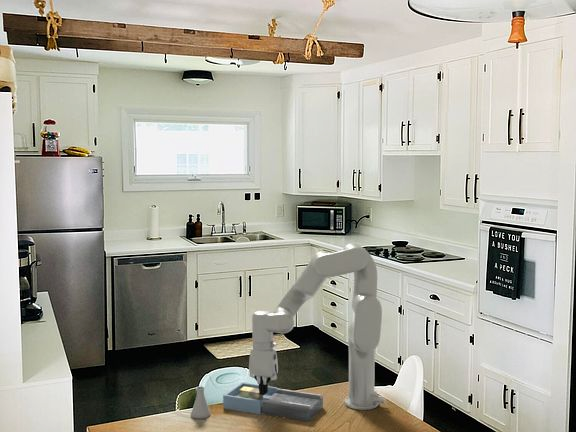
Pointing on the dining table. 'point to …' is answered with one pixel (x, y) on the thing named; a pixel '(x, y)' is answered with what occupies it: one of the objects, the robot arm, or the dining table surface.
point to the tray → (245, 399)
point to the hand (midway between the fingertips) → (263, 393)
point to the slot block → (293, 405)
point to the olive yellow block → (244, 392)
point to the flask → (200, 405)
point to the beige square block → (255, 394)
